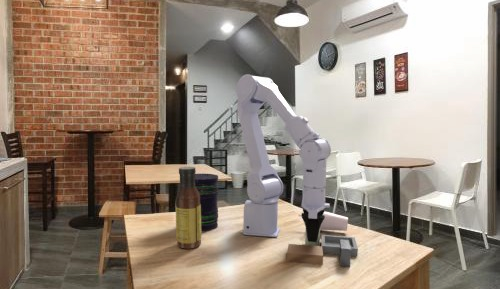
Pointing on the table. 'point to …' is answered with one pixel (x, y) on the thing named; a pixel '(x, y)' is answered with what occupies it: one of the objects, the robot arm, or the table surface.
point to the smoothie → (333, 222)
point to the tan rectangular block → (305, 254)
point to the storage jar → (208, 200)
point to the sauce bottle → (188, 210)
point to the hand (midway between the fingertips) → (312, 238)
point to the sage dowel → (312, 242)
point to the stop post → (345, 253)
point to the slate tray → (337, 244)
